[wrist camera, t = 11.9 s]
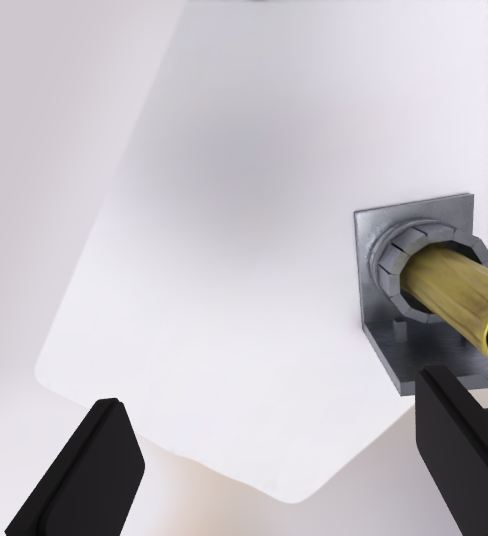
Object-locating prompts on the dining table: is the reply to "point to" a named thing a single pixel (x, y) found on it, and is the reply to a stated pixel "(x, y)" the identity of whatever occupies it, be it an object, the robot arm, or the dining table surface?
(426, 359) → the cup bracket
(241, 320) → the dining table surface
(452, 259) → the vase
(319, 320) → the dining table surface
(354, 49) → the dining table surface
